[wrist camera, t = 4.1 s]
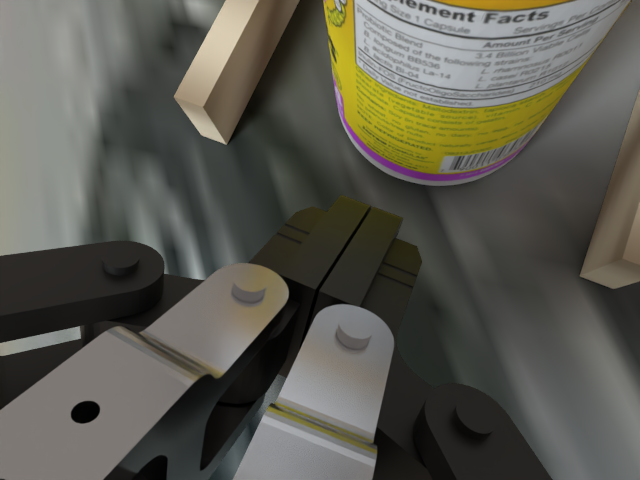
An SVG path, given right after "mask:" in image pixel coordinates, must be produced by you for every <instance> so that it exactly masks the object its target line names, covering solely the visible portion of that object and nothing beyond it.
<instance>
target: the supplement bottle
mask: <svg viewBox="0 0 640 480" xmlns="http://www.w3.org/2000/svg"><path fill="white" fill-rule="evenodd" d="M323 1H324V10H325V17H326V27H327V32H328V41H329V48H330V57H331V64H332V72H333V79H334V88H335V94H336V100H337V105H338V110H339V115H340V118H341V121H342V124H343V126H344V129H345V131H346V133H347V135H348V136H349V138H350V140H351V141H352V143H353V144H354V145H355V147H356V148H357V149H358V151H359V152H360V153H361V154H362V155H363V156H364V157H365V158H366V159H367V160H369V161H370V162H371V163H372V164H373V165H375V166H376V167H377V168H379V169H381V170H382V171H384V172H385V173H387V174H389V175H391V176H394V177H396V178H399V179H402V180H405V181H409V182H413V183H417V184H422V185H430V186H447V185H457V184H462V183H467V182H470V181H474V180H477V179H480V178H482V177H484V176H487V175H489V174H491V173H493V172H494V171H496V170H498V169H500V168H501V167H503V166H504V165H505V164H507V163H508V162H510V161H511V160H512V159H513V158H514V157H515V156H516V155H517V154H518V153H519V152H520V151H521V150H522V149H523V148H524V147H525V146H526V144H527V143H528V142H529V141H530V140H531V139H532V137H533V136H534V134H535V133H536V132H537V130H538V129H539V128H540V126H541V125H542V124H543V122H544V121H545V120H546V118H547V117H548V115H549V114H550V113H551V111H552V110H553V108H554V107H555V106H556V104H557V103H558V101H559V100H560V99H561V97H562V96H563V95H564V93H565V92H566V90H567V89H568V88H569V86H570V85H571V83H572V82H573V81H574V79H575V78H576V77H577V75H578V74H579V72H580V71H581V70H582V68H583V67H584V66H585V64H586V63H587V61H588V60H589V59H590V57H591V56H592V55H593V53H594V52H595V50H596V49H597V48H598V46H599V45H600V44H601V42H602V41H603V39H604V38H605V37H606V35H607V34H608V32H609V31H610V30H611V28H612V27H613V25H614V24H615V23H616V21H617V20H618V19H619V17H620V16H621V15H622V13H623V12H624V11H625V9H626V8H627V7H628V5H629V4H630V2H631V1H632V0H323Z"/></svg>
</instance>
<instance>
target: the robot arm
mask: <svg viewBox="0 0 640 480" xmlns="http://www.w3.org/2000/svg"><path fill="white" fill-rule="evenodd" d="M402 220H403V218H402V217H399V216H396V215H394V214H391V213H388V212H386V211H383V210H380V209H378V208H375V207H373V208H372V209H371V206H369V205H367V204H364V203H361V202H359V201H356V200H354V199H351V198H348V197H346V196H343V195H341V196H340V197H339V198H338V199H337V200H336V202H335V203H334V204H333V205H332V207H331V208H330V209H329V210H328V211H327V212H326V211H323V210H321V209H318V208H316V207H310V208H307V209H304V210H301V211H299V212H296V213H295V214H294V215H293V216H292V217H291V218H290V219H289V220H288V221H287V222H286V224H285V226H283V227H282V228H281V229H280V230H279V231H278V232H277V234H276V235H274V236H273V237H272V238H271V239H270V241H269V242H268V243H267V244H266V245H265V246H264V247H263V248H262V249H261V250H260V251H259V252H258V253H257V254H256V255H255V256H254V258H253V259H252V260H251V261H250V262H249V263H237V264H231V265H228V266H225V267H223V268H220V269H219V270H217V271H216V272H215V273H213V274H212V275H211V276H210V277H209V278H207V279H206V280H198V279H191V278H185V277H179V276H174V275H168V274H164V261H163V258H162V257H161V255H160V254H159V253H158V252H157V251H156V250H154V249H153V248H151V247H149V246H147V245H144V244H141V243H137V242H132V241H111V242H103V243H96V244H88V245H80V246H73V247H65V248H57V249H50V250H42V251H34V252H27V253H19V254H11V255H4V256H0V343H2V342H7V341H12V340H16V339H21V338H26V337H31V336H35V335H40V334H45V333H49V332H54V331H59V330H64V329H68V328H73V327H78V326H80V331H81V339H78V340H73V341H69V342H64V343H60V344H55V345H51V346H46V347H42V348H37V349H33V350H29V351H24V352H20V353H15V354H11V355H6V356H0V480H208V479H209V477H210V476H211V475H212V473H213V472H214V470H215V469H216V468H217V466H218V465H219V463H220V462H221V461H222V459H223V458H224V457H225V455H226V454H227V452H228V451H229V450H230V448H231V447H232V446H233V444H234V443H235V441H236V440H237V439H238V437H239V436H240V434H241V433H242V432H243V430H244V429H245V428H246V426H247V425H248V423H249V422H250V421H251V419H252V418H253V416H254V415H255V414H256V412H257V411H258V410H259V408H260V407H261V405H262V403H263V401H264V397H265V393H266V392H267V390H268V389H269V387H270V386H271V384H272V383H273V381H274V379H275V378H276V376H277V374H279V375H282V376H284V377H286V378H287V379H286V381H285V383H284V386H283V388H282V390H281V392H280V394H279V396H278V398H277V400H276V402H275V404H272V403H271V404H270V405H269V407H268V408H267V410H266V412H265V414H264V416H263V418H262V420H261V422H260V424H259V426H258V428H257V430H256V432H255V434H254V436H253V439H252V441H251V443H250V445H249V447H248V449H247V451H246V453H245V455H244V458H243V460H242V462H241V464H240V466H239V468H238V470H237V472H236V474H235V476H234V479H233V480H552V478H551V477H550V476H549V474H548V473H547V471H546V470H545V468H544V467H543V465H542V464H541V462H540V461H539V459H538V458H537V456H536V455H535V454H534V452H533V451H532V449H531V448H530V446H529V445H528V443H527V442H526V440H525V439H524V437H523V436H522V434H521V433H520V432H519V430H518V429H517V427H516V426H515V424H514V423H513V421H512V420H511V418H510V417H509V415H508V414H507V413H506V412H505V410H504V409H503V408H502V407H501V406H500V405H499V404H498V403H497V402H496V401H494V400H493V399H492V398H491V397H489V396H488V395H486V394H485V393H483V392H481V391H479V390H477V389H475V388H473V387H470V386H466V385H463V384H455V383H452V384H444V385H441V386H438V387H436V388H435V389H434V388H433V387H432V386H430V385H429V384H428V383H426V382H425V381H424V380H422V379H421V378H420V377H418V376H417V375H416V374H415V373H414V372H413V371H412V370H411V369H410V368H409V367H408V366H407V365H406V363H405V362H404V361H403V359H402V357H401V356H400V353H399V351H398V348H397V343H396V337H397V332H398V329H399V326H400V324H401V321H402V318H403V315H404V312H405V309H406V306H407V303H408V301H409V298H410V295H411V292H412V289H413V286H414V283H415V280H416V277H417V275H418V272H419V269H420V266H421V263H422V260H421V257H420V254H419V251H418V248H417V246H414V245H412V244H409V243H407V242H404V241H401V240H399V239H396V237H397V234H398V232H399V229H400V226H401V223H402Z"/></svg>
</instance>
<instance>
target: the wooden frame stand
mask: <svg viewBox="0 0 640 480" xmlns="http://www.w3.org/2000/svg"><path fill="white" fill-rule="evenodd" d="M299 1H300V0H226V1H225V3H224V5H223V7H222V9H221V10H220V12H219V14H218V16H217V18H216V20H215V22H214V23H213V25H212V27H211V29H210V31H209V33H208V35H207V36H206V38H205V40H204V42H203V44H202V46H201V47H200V49H199V51H198V53H197V55H196V57H195V59H194V60H193V62H192V64H191V66H190V68H189V70H188V71H187V73H186V75H185V77H184V79H183V81H182V83H181V84H180V86H179V88H178V90H177V92H176V94H175V95H174V98H175V99H176V101H177V102H178V103H179V105H180V106H181V108H182V109H183V110H184V112H185V113H186V114H187V116H188V117H189V119H190V120H191V121H192V123H193V124H194V125H195V127H196V128H197V130H198V131H199V132H200V134H201V135H202V136H205V137H208V138H210V139H213V140H216V141H218V142H221V143H224V144H226V145H227V143H228V141H229V139H230V137H231V135H232V133H233V131H234V129H235V127H236V125H237V123H238V122H239V120H240V118H241V116H242V114H243V112H244V110H245V108H246V106H247V104H248V102H249V100H250V98H251V96H252V94H253V92H254V90H255V88H256V86H257V84H258V82H259V80H260V78H261V76H262V74H263V72H264V70H265V68H266V66H267V64H268V62H269V60H270V58H271V56H272V54H273V52H274V50H275V48H276V46H277V44H278V42H279V40H280V38H281V36H282V34H283V32H284V30H285V28H286V26H287V24H288V22H289V20H290V18H291V16H292V14H293V12H294V11H295V9H296V7H297V5H298V3H299ZM580 277H583V278H585V279H588V280H591V281H593V282H596V283H599V284H601V285H604V286H607V287H609V288H612V289H616V288H619V287H622V286H626V285H629V284H632V283H636V282H639V281H640V89H639V92H638V95H637V98H636V101H635V104H634V108H633V111H632V114H631V117H630V120H629V123H628V126H627V129H626V133H625V136H624V139H623V142H622V145H621V148H620V151H619V154H618V157H617V161H616V164H615V167H614V170H613V173H612V176H611V179H610V182H609V186H608V189H607V192H606V195H605V198H604V201H603V204H602V207H601V210H600V214H599V217H598V220H597V223H596V226H595V229H594V232H593V235H592V239H591V242H590V245H589V248H588V251H587V254H586V257H585V260H584V264H583V267H582V270H581V273H580Z"/></svg>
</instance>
